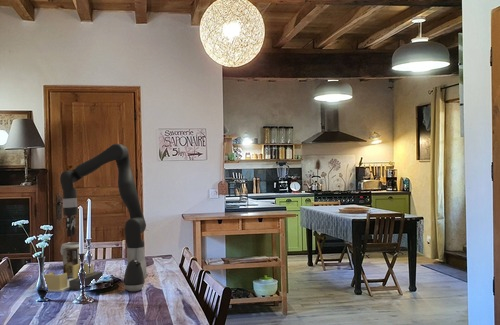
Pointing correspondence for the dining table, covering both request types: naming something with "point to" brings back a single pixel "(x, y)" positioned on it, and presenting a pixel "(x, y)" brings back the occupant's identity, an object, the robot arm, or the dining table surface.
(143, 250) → the robot arm
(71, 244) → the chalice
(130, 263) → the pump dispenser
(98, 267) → the dining table surface
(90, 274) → the rail
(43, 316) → the dining table surface
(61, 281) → the bracket board
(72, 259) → the coffee box
